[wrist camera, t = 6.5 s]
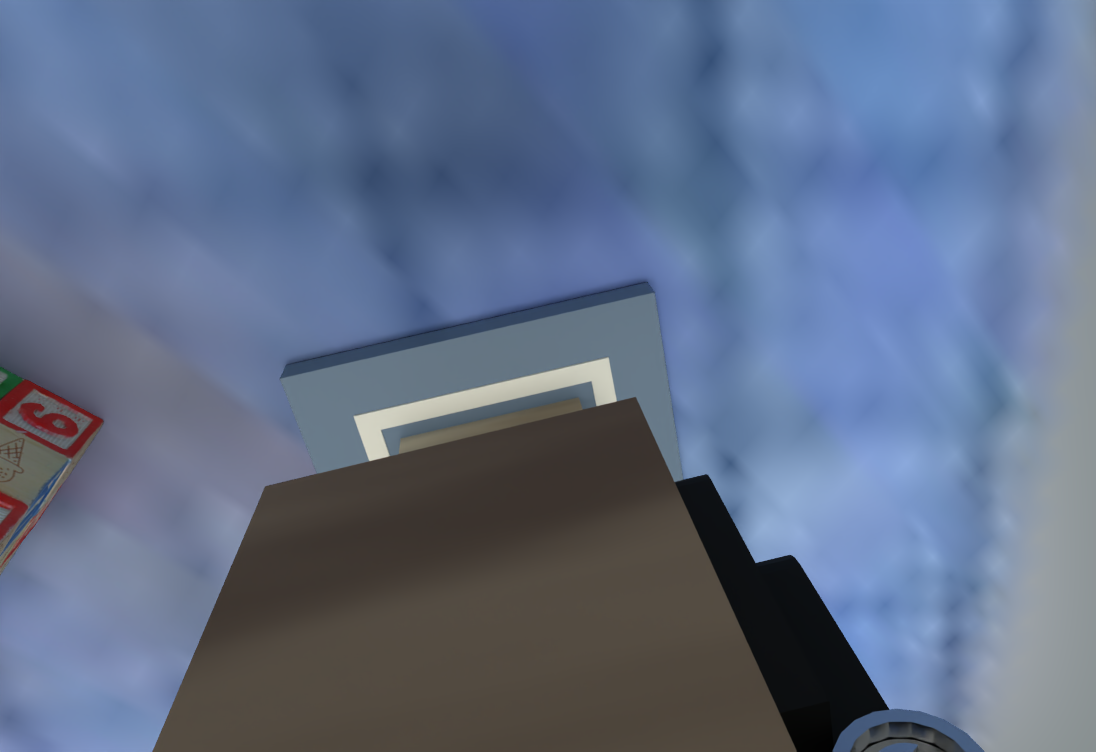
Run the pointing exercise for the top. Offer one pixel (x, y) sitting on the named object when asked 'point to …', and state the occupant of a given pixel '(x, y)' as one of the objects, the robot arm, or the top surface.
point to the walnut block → (479, 608)
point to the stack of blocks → (35, 454)
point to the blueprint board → (485, 377)
